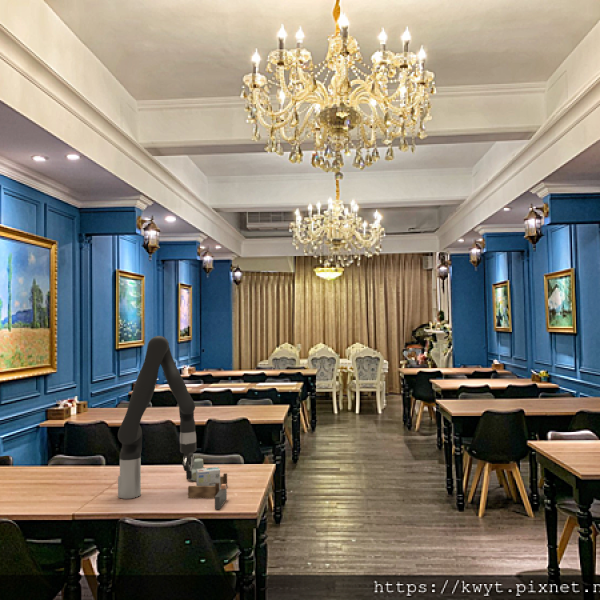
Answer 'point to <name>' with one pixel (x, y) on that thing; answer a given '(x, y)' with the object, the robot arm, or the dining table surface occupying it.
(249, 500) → the dining table surface
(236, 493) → the dining table surface
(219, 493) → the bar
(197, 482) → the light bulb box
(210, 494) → the rails
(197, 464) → the air freshener
